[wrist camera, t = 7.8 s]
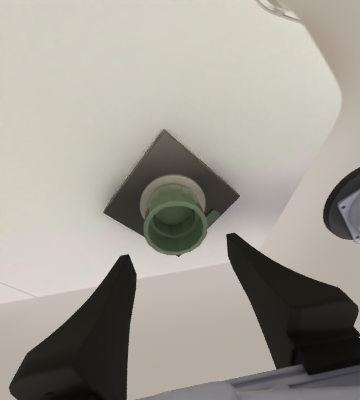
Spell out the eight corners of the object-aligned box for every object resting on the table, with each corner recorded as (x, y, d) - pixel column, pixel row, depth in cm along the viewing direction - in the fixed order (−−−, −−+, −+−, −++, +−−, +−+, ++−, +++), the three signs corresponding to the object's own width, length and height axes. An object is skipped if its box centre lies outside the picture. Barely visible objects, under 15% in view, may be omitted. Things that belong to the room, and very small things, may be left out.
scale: (233, 189, 23) (242, 198, 21) (177, 246, 26) (179, 260, 24) (164, 129, 20) (164, 131, 17) (107, 203, 22) (101, 215, 20)
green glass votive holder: (208, 207, 21) (219, 231, 17) (170, 236, 22) (172, 264, 18) (175, 171, 19) (180, 188, 15) (135, 205, 20) (129, 229, 16)
